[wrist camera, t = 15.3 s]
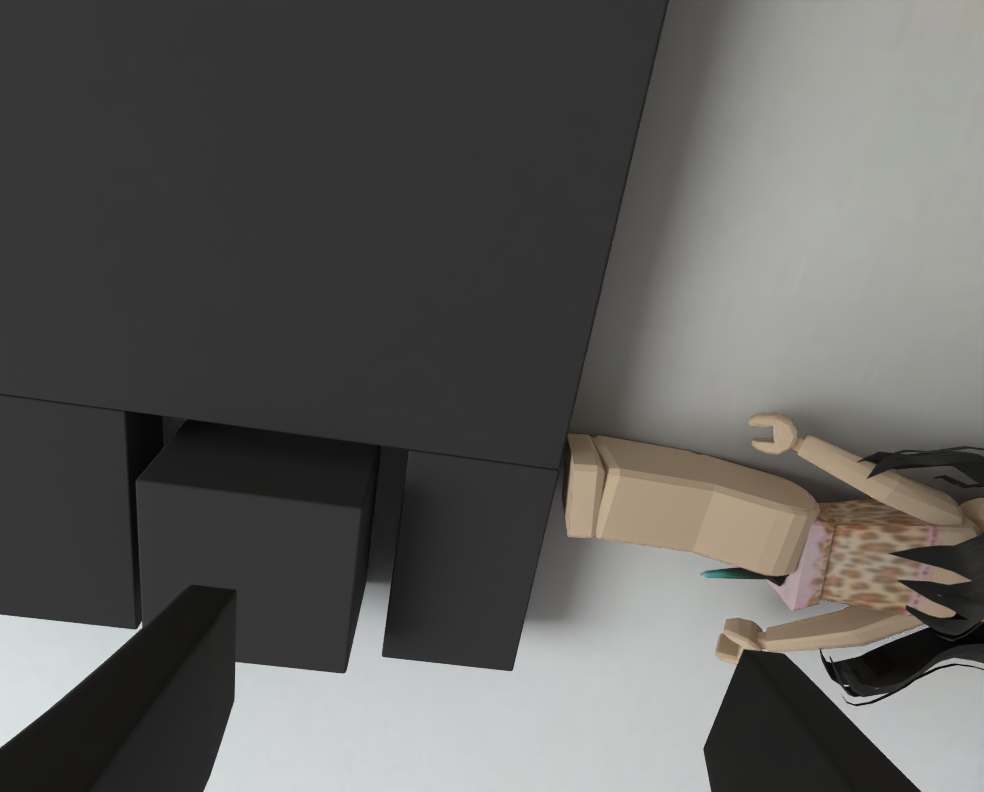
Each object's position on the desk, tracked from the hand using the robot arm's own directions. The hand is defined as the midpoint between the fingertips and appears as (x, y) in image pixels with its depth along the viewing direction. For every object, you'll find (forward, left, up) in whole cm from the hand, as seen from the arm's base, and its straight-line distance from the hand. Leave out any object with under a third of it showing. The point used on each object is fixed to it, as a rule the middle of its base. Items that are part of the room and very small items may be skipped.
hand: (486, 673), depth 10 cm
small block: (-4, +5, -9) cm, 11 cm away
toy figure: (-2, -10, -10) cm, 14 cm away
